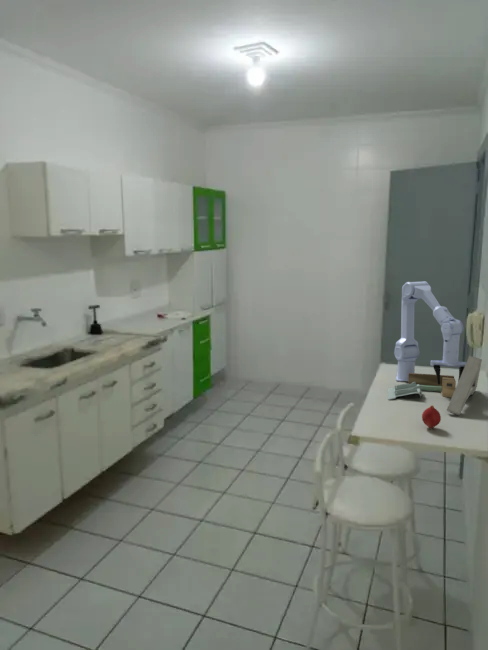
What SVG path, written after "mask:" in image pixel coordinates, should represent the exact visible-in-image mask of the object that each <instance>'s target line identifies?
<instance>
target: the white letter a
mask: <svg viewBox="0 0 488 650" xmlns="http://www.w3.org/2000/svg"><path fill="white" fill-rule="evenodd" d="M465 362H466V365H465V367H464V370H463V372H462V374H461V377H460V379H459V378H458V379H459V382H457V384H456V386H455V391H454V394H453V396H452V397H450V398H451V399H450V400H449V403H448V406H447V409H446V412H448V413H450V414H453V415H456V416H459V417H460V415H461V413H462V411H463V410H464V407H465V404H466V403H467V401H468V399H469V397H470V396H473V395H474V393H475V391H476V389H477V387H478V383H479V376H480V372H481V367H482V362H483V360H482V359H481V358H478V357H475V356H473V355H470V354H469V355H468V358H467V360H466V361H465Z"/></svg>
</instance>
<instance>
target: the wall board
mask: <svg viewBox="0 0 488 650" xmlns="http://www.w3.org/2000/svg"><path fill="white" fill-rule="evenodd" d="M443 377H444V378H455V375H447V374H440V384H438V381H437V375H436V374H434V373H433V374H432V373H431V374H430V373H415V372H414V373H409V378H408V383H407V384H411V383H413V382H416V384H419V385H433V386H442V378H443ZM414 384H415V383H414Z"/></svg>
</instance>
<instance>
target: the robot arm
mask: <svg viewBox="0 0 488 650" xmlns="http://www.w3.org/2000/svg"><path fill="white" fill-rule="evenodd" d="M419 299H421V300H422V301H424V302H425V304H427V306H428V307H429V308H430V309H431V310H432V316H433V318H434V319H435V320H436V321H437V323H438V324H439V325H440V331H441V334H442V339H443V347H442V348H443V350H442V359H440V360H438V359H437V360H434V359H433V360H432V359H431V360H430V366H431V367H433V369H434V373H435V375H437V381H438V384H440V375H441V367H446V368H447V367H449V368H458V379H457V381H458V382H459V379H460V377H461V374H462V372H463V370H464V367H465V365H466V362H467V361H459V356H460V351H459V350H460V339H461V337H460V336H461V335H462V334H463V333H464V331H465V330H464V328H465V327H464V324H463V322H462V321H461V320H460V319H457V318H455V317H454V316H453V314H451V313H450V311H449V309H448V307H446V306H444V305H442V306H441V305H440V303H439V302H438V300H437V298H436V296H435V295H434V294H433V292H432V287H431V285H430V284H429V283H428V282H427V281H425V280H423V281H406V282H405V283H404V284H403V285H402V287H401V308H400V309H401V310H400V311H401V312H400V313H401V314H400V315H401V316H400V317H401V318H400V319H401V322H400V323H401V324H400V326H401V327H400V339H398V340H397V341H396V342H395V346H394V351H393V355H394V357H395V359H396V360H397V370H396V371H397V372H396V373H397V374H396V375H395V381H396V382H397V381H398V382H408V378H409V373H415V367H416V361H417V358H419V356H420V354H421V353H420V348H419V341H417V340H416V339H415V304H416V302H417V301H418V300H419ZM458 382H457V383H458Z"/></svg>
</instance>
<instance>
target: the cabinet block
mask: <svg viewBox="0 0 488 650" xmlns="http://www.w3.org/2000/svg"><path fill="white" fill-rule="evenodd" d="M456 382H457V381H456V378H455V377H454V378H444V377H443V378H442V392H441V396H442V397H445V398H446V397H447V398H452V396H453V394H454V391H455V389H456V386H457V384H456Z"/></svg>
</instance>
